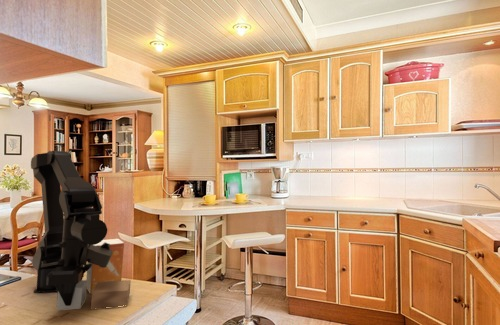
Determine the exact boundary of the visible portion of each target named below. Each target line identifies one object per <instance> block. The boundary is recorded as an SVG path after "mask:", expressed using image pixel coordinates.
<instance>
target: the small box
mask: <svg viewBox="0 0 500 325" xmlns="http://www.w3.org/2000/svg"><path fill="white" fill-rule="evenodd" d="M103 243H108V244H110V250H113V254H112V256H111V258H110V261H109V263H108V265H107V266H106V267H105V268H102V267H100V266H99V265H95V264H92V263H89V262H87V264H92V266H91V267H90V268H89V269H88V270H87V271H86V279H85V280H87V286H86V290H87V291H88V292H89V294H90V295H92V292H93V290H94V288H95V286H96V285H97V283H98V282H106V281H123V280H122V279H123V278H122V277H123V267H124V266H123V265H124V252H125V250H124V249H125V242H124V241H123V240H121V239H119V238H112V239H109V238H108V239H103V240H102V241H101V242H100V243H98V244H95V245H94V246H97V245H98V246H99V247H100V246H101V245H102V244H103Z"/></svg>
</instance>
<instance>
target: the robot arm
mask: <svg viewBox="0 0 500 325" xmlns="http://www.w3.org/2000/svg"><path fill="white" fill-rule="evenodd" d="M30 169H31V170H32V172H33V177H34V179H36V181H37V182H38V183H39V184H40V186H41V197H42V198H41V200H42V210H43V221H44V222H43V223H44V233H43V235H42V236H41V237H40V238H41V239H39V241H38V247H37V249H36V251H35V253H34V255H33V257H32V268H34V269H35V270H36V271H37V275H36V276H37V277H36V278H37V279H36V288H35V289H34V290H33V293H35V294H36V293H38V294H39V293H50V292H51V293H54V292H57V293H58V292H59V294H60V296H61V298H62V300H63V302H64V304H65V305H66V306H70V305H71V303H72V299H73V296H74V292H75V288H76V284H77V283H79V282H80V281H81V280H83V279H84V277H85V276H84V275H85V273H87V270H88V269H89V268H90V267H91V266H92V264H95V265H99V266H100V267H102V268H105V267H106V266H107V265H108V263H109V261H110V258H111V256H112V254H113V250H110V244H108V243H103V244H102V245H101V246H100V247H99V246H98V245H97V246H94V245H95V244H98V243H100V242H101V241H102V240H105V238H106V236H107V234H108V227H107V224H106V223H105V222H104V220H101V219H100V215H102V214H103V212H102V209H103V205H102V203H101V200H100V198H99V195H98V192H97V191H96V188H95V187H94V186H93V185H92V184H91V183H90V182H89V181H87V180H85V179H83V178H82V177H81V176H80V173H79V171H78V170H77V168H76V166H75V164H74V162H73V161H72V155H71V152H68V151H63V150H48V151H47V152H42V153H37V154H35V155H34V156H33V157H31V159H30ZM88 262H89V263H92V264H87V263H88Z"/></svg>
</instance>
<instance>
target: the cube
mask: <svg viewBox="0 0 500 325" xmlns="http://www.w3.org/2000/svg"><path fill="white" fill-rule="evenodd" d="M86 286H87V280H86V279H85V280H84V279H82V280H81V281H80V282H79V283H77V284H76V288H75V292H74V296H73V299H72V303H71V305H70V306H66V305H65V304H64V302H63V300H62V298H61V296H60V294H59V292H58V291H57V301H56V311H67V310H69V311H70V310H80V309H81V308H82V307H83V305H84V303H85V301H86V298H87V288H86Z"/></svg>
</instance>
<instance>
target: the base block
mask: <svg viewBox="0 0 500 325" xmlns="http://www.w3.org/2000/svg"><path fill="white" fill-rule="evenodd" d="M129 294H131V279H130V280H127V279H126V280H121V281H106V282H98V283H97V285H96V286H95V288H94V290H93V292H92V294H91V301H90V302H91V304H90V310H91V309H92V310H96V309H95V308H105V309H107V308H106V307H118V306H123V305H124V306H125V305H127V306H128V304H129V300H128V299H129V298H130V296H129ZM127 303H128V304H127ZM118 308H119V307H118Z"/></svg>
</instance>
